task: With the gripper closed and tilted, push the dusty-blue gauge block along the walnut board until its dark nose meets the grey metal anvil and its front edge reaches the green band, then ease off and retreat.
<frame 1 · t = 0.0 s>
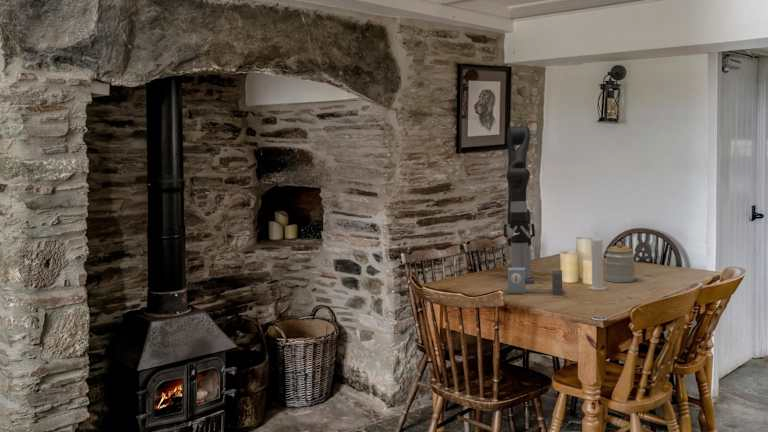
hand: (519, 246, 334), 17 cm above the table, tool pointing down, fingers open, 8 cm apart
jar: (620, 280, 332), on the table
candle: (597, 289, 316), on the table
gauge: (521, 280, 310), point 6 cm above the table, slide at 0.0 cm
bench: (531, 294, 310), on the table
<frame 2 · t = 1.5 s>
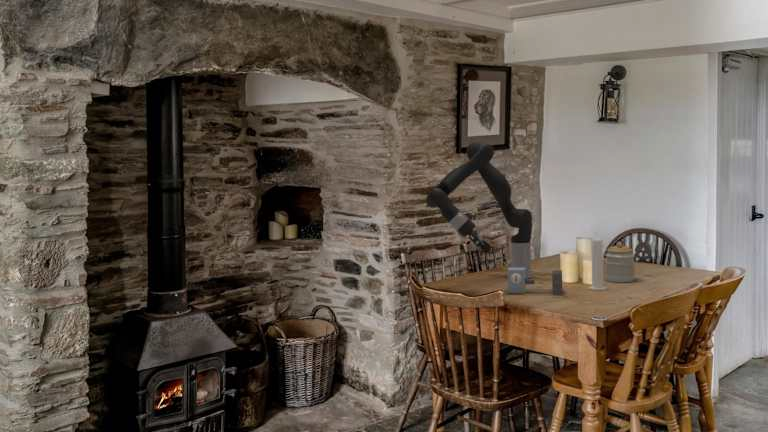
hand: (489, 250, 312), 19 cm above the table, tool tilted 45°, fingers open, 8 cm apart
nothing on the table moved.
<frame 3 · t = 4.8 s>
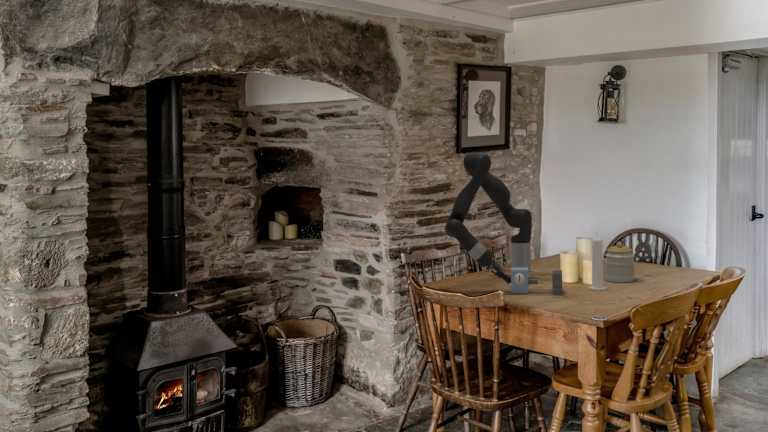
hand: (510, 282, 311), 5 cm above the table, tool tilted 45°, fingers closed
gauge: (524, 280, 309), point 6 cm above the table, slide at 1.4 cm, touching gripper
everything else where it was.
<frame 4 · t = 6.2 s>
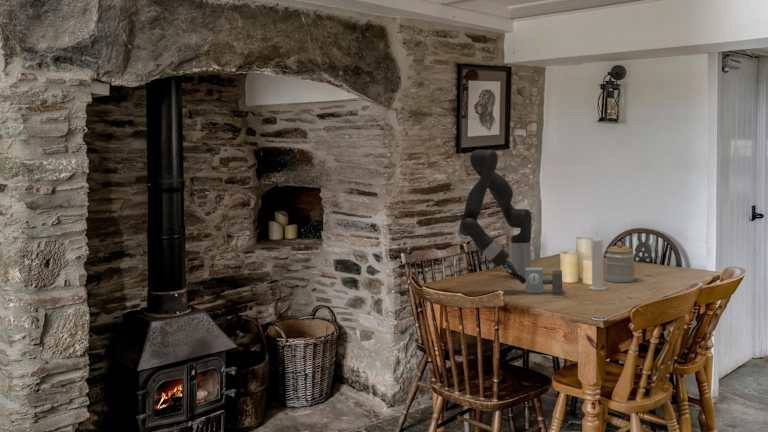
hand: (524, 282, 310), 5 cm above the table, tool tilted 45°, fingers closed
gauge: (539, 280, 308), point 6 cm above the table, slide at 7.5 cm, touching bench, gripper
everything else where it was.
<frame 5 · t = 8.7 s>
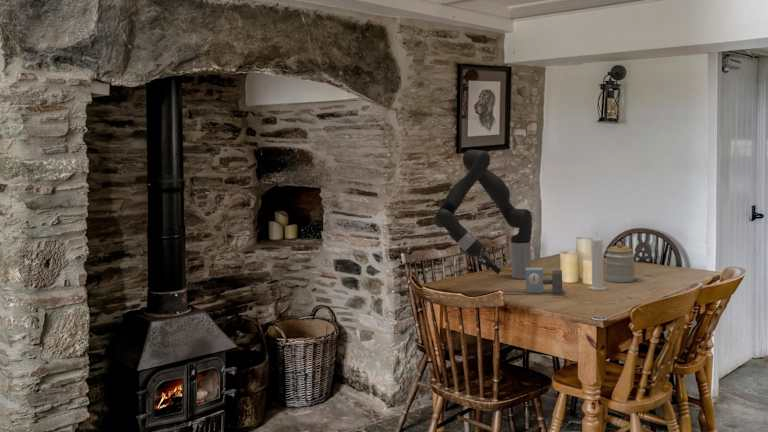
hand: (499, 272, 312), 10 cm above the table, tool tilted 45°, fingers closed
gauge: (539, 280, 308), point 6 cm above the table, slide at 7.5 cm, touching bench
everything else where it was.
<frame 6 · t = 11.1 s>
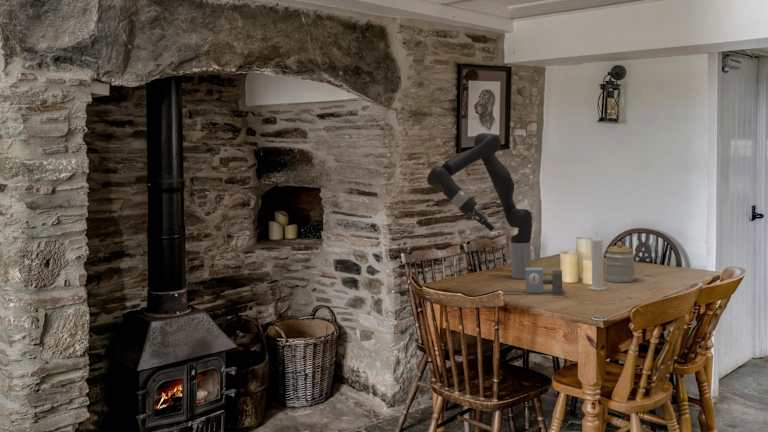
hand: (492, 229, 313), 28 cm above the table, tool tilted 45°, fingers closed
nothing on the table moved.
at the end: gauge slide at 7.5 cm; the gripper is holding nothing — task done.
